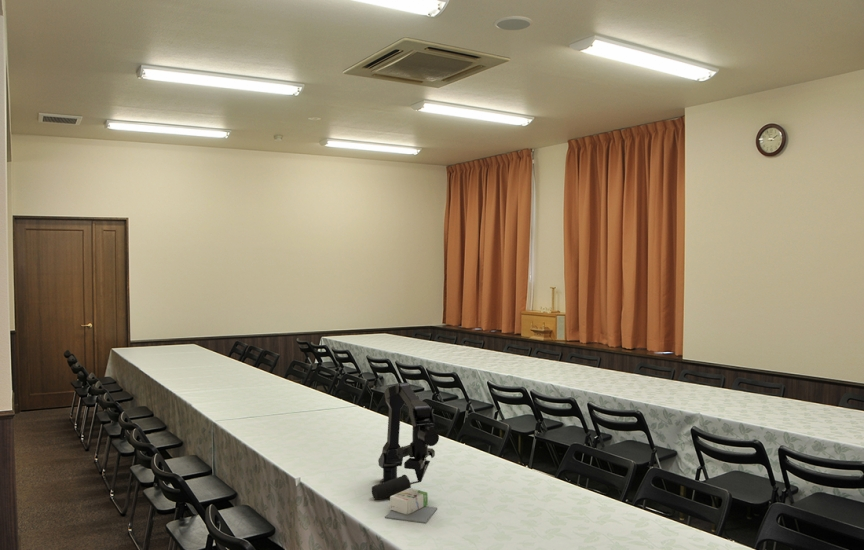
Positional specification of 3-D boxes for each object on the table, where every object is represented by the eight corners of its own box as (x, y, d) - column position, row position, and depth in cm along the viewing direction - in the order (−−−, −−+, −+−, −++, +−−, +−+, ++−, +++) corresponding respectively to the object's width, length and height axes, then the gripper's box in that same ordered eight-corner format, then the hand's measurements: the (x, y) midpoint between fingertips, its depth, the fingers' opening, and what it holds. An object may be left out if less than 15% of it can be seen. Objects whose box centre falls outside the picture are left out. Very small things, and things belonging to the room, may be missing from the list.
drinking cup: (369, 481, 243) (415, 470, 253) (371, 501, 243) (417, 489, 252) (377, 483, 237) (424, 472, 246) (379, 504, 236) (426, 492, 246)
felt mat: (398, 504, 235) (398, 502, 235) (437, 508, 231) (437, 507, 231) (384, 518, 222) (384, 516, 222) (426, 523, 217) (426, 521, 217)
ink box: (427, 492, 233) (407, 501, 223) (427, 505, 233) (407, 515, 223) (409, 487, 238) (389, 496, 228) (409, 500, 238) (389, 509, 228)
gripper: (407, 431, 244) (407, 471, 245) (390, 443, 227) (390, 487, 227) (435, 433, 241) (434, 474, 241) (420, 446, 223) (420, 490, 223)
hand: (419, 481), depth 233 cm, fingers closed
